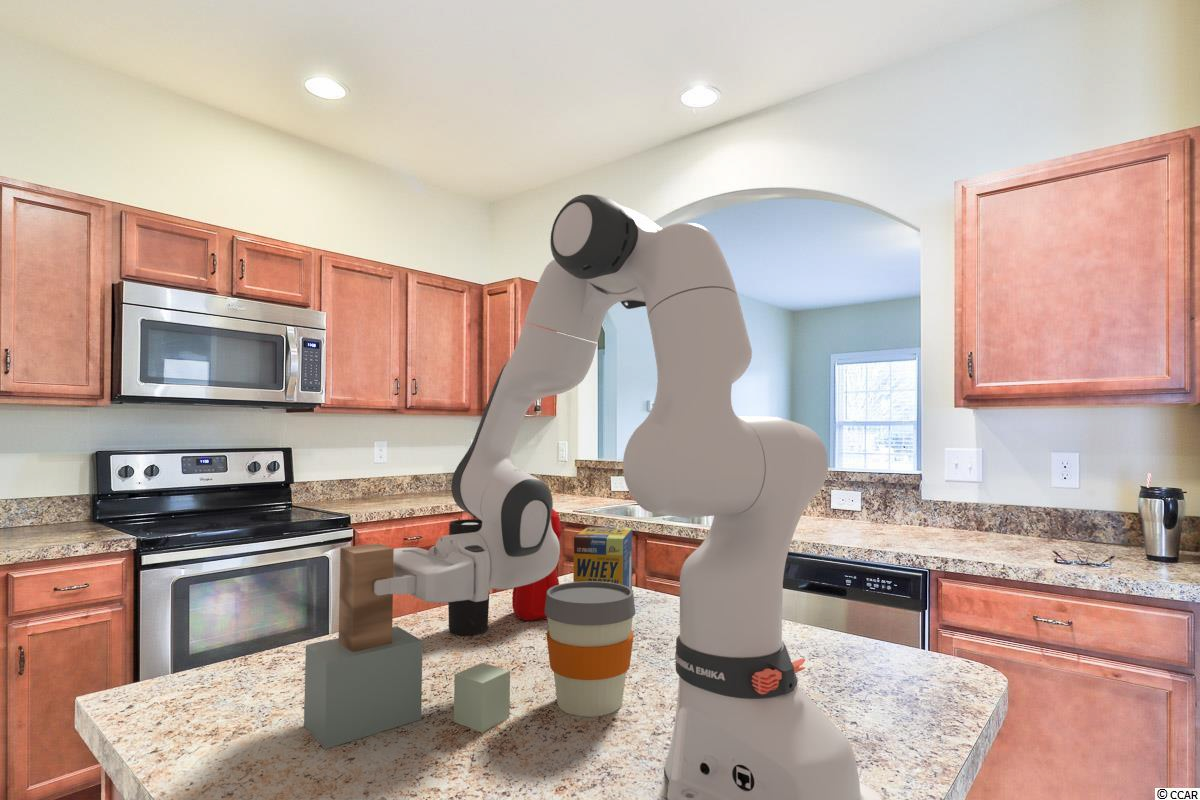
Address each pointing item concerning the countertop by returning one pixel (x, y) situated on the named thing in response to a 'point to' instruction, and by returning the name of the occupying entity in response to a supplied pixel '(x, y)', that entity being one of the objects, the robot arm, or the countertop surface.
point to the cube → (481, 696)
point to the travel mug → (467, 613)
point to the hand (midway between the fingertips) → (359, 580)
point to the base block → (361, 688)
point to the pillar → (364, 597)
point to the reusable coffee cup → (589, 644)
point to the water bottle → (536, 588)
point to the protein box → (603, 555)
